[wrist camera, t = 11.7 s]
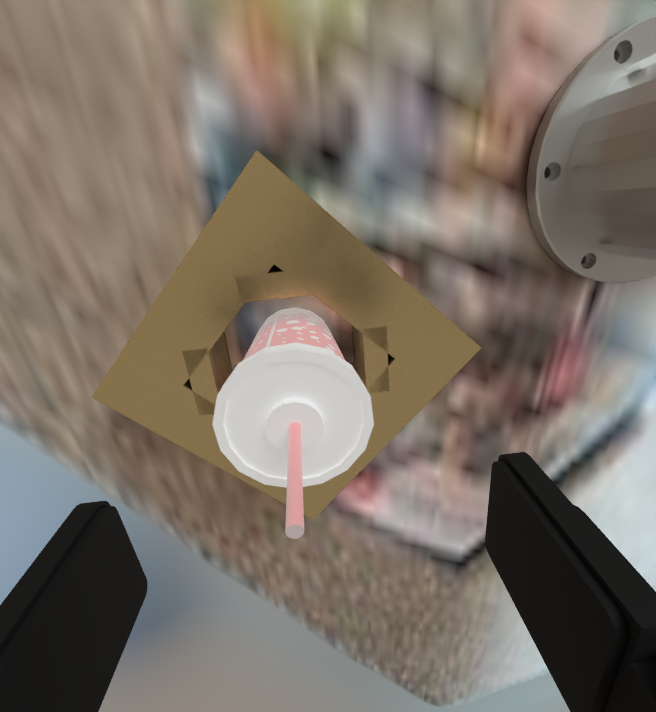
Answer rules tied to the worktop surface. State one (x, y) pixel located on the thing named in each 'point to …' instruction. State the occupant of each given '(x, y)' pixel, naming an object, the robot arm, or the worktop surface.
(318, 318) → the beverage cup
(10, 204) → the worktop surface
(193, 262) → the block
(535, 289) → the worktop surface
